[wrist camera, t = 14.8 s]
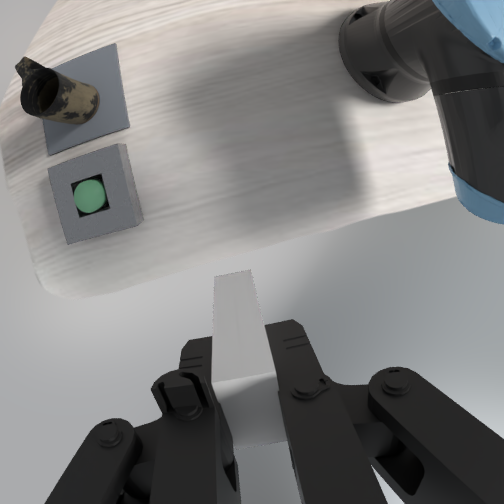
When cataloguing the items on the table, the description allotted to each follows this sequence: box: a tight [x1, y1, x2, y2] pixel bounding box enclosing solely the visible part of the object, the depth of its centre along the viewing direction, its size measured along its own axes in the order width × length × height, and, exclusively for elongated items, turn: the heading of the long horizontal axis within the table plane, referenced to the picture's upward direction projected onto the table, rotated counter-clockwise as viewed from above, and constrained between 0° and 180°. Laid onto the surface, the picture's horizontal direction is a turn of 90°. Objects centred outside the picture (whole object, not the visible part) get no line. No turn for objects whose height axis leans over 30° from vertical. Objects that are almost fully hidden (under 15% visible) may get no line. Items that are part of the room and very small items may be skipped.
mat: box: [43, 43, 130, 155], centre depth 34 cm, size 12×12×1 cm
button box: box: [48, 144, 144, 245], centre depth 36 cm, size 10×10×4 cm
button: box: [74, 179, 108, 213], centre depth 35 cm, size 4×4×3 cm
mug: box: [15, 57, 100, 125], centre depth 27 cm, size 8×6×12 cm
